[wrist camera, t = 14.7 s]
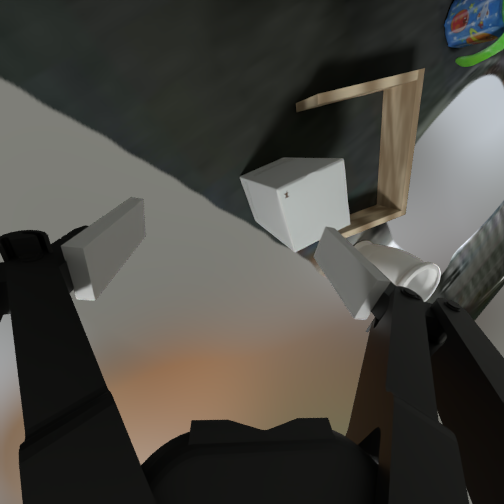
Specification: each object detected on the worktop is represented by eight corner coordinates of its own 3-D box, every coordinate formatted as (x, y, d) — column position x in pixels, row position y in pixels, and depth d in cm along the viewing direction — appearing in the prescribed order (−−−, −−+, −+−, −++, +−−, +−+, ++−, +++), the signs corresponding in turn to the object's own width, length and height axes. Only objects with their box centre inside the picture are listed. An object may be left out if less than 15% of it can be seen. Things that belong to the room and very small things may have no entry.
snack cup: (476, -64, 32) (588, -146, 23) (500, -11, 37) (602, -62, 28) (416, 52, 36) (492, 19, 28) (444, 87, 41) (518, 69, 32)
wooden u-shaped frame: (309, 234, 45) (327, 245, 40) (295, 103, 34) (317, 94, 28) (380, 207, 48) (405, 214, 43) (389, 80, 37) (424, 68, 32)
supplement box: (254, 222, 40) (293, 255, 27) (238, 176, 35) (274, 188, 22) (296, 203, 41) (352, 226, 28) (285, 156, 36) (345, 156, 24)
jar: (377, 263, 56) (438, 296, 43) (344, 281, 54) (397, 320, 41) (375, 228, 50) (445, 254, 37) (339, 247, 49) (398, 280, 36)
